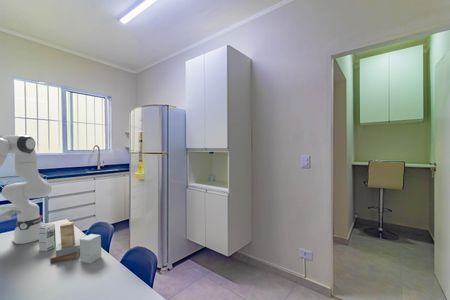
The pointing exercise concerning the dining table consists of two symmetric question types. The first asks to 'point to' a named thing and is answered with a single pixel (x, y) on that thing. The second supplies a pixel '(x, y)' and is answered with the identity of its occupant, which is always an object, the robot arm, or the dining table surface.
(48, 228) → the syrup box
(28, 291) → the dining table surface
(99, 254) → the supplement box
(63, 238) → the oak block
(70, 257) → the tower base slab
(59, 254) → the tower top slab
